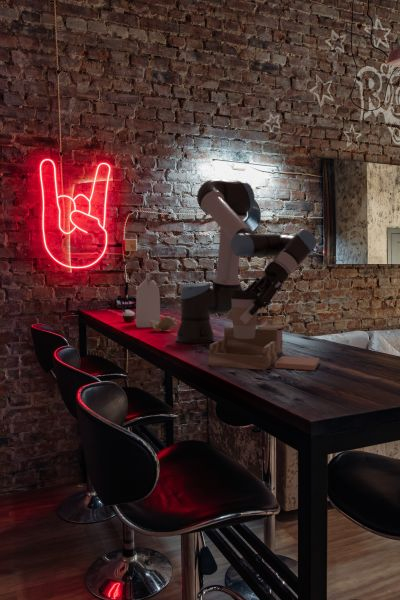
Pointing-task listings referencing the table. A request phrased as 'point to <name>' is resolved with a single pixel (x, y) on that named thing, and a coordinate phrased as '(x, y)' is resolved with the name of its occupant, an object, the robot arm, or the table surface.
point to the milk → (147, 303)
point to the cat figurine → (164, 324)
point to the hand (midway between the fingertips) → (235, 319)
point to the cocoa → (128, 314)
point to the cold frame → (245, 350)
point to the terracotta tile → (297, 363)
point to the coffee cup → (239, 306)
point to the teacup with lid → (273, 325)
